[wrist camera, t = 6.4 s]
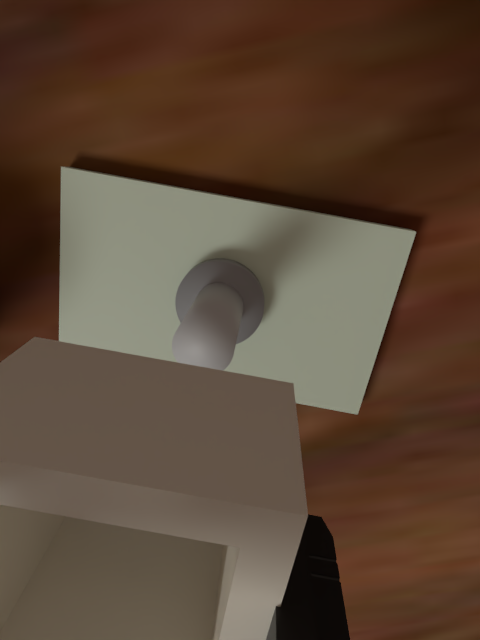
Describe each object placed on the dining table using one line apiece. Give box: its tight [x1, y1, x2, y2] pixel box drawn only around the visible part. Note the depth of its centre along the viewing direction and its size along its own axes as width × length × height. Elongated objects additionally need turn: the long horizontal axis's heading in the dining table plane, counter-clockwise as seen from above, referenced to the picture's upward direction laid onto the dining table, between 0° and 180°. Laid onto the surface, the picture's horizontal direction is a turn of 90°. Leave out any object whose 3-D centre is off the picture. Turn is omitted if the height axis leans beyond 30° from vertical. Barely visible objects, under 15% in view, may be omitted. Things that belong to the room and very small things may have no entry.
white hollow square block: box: [0, 337, 308, 640], centre depth 9 cm, size 6×6×4 cm
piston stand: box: [59, 167, 416, 415], centre depth 22 cm, size 20×12×8 cm, turn 80°
